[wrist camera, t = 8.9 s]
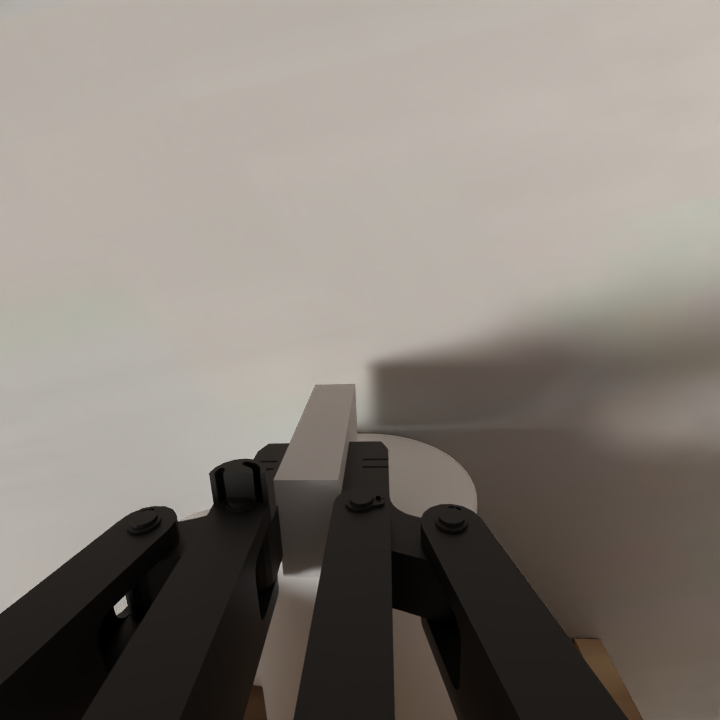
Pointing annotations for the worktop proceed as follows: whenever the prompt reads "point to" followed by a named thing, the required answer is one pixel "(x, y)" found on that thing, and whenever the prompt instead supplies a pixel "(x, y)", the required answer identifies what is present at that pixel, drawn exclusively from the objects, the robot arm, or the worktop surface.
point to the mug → (410, 646)
